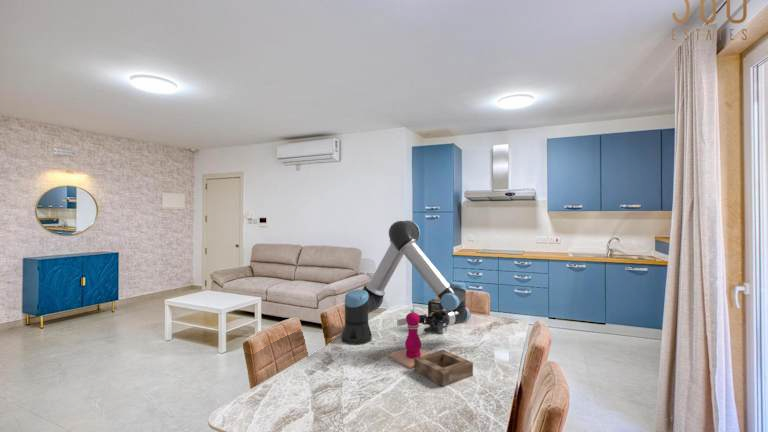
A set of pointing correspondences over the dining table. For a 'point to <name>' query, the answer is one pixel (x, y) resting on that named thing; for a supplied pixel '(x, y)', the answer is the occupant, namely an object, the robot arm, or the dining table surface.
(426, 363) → the walnut holder
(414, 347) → the pepper mill
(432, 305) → the coffee box
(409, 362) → the terracotta tile
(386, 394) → the dining table surface
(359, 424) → the dining table surface
